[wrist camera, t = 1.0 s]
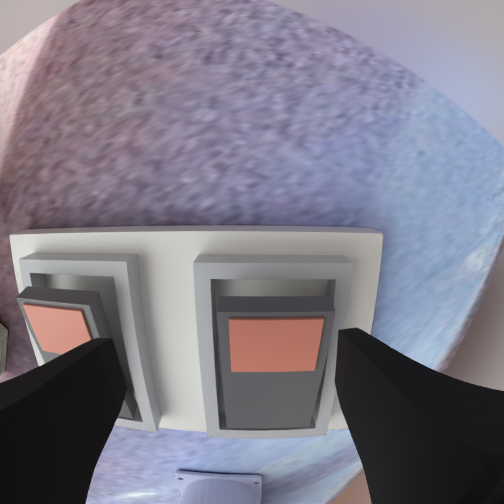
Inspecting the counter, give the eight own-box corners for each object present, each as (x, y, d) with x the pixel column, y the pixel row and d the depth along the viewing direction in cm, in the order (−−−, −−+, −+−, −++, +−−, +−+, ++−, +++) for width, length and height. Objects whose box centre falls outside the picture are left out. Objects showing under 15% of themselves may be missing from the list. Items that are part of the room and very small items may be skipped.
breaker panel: (343, 410, 21) (354, 442, 17) (64, 392, 21) (45, 417, 17) (370, 227, 18) (395, 239, 14) (26, 229, 18) (-6, 239, 14)
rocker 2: (307, 411, 18) (309, 428, 16) (227, 412, 18) (226, 429, 17) (329, 295, 14) (336, 313, 13) (219, 295, 14) (216, 314, 13)
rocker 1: (137, 404, 18) (132, 420, 17) (75, 393, 18) (68, 407, 17) (98, 291, 14) (87, 307, 13) (27, 286, 14) (14, 298, 13)
